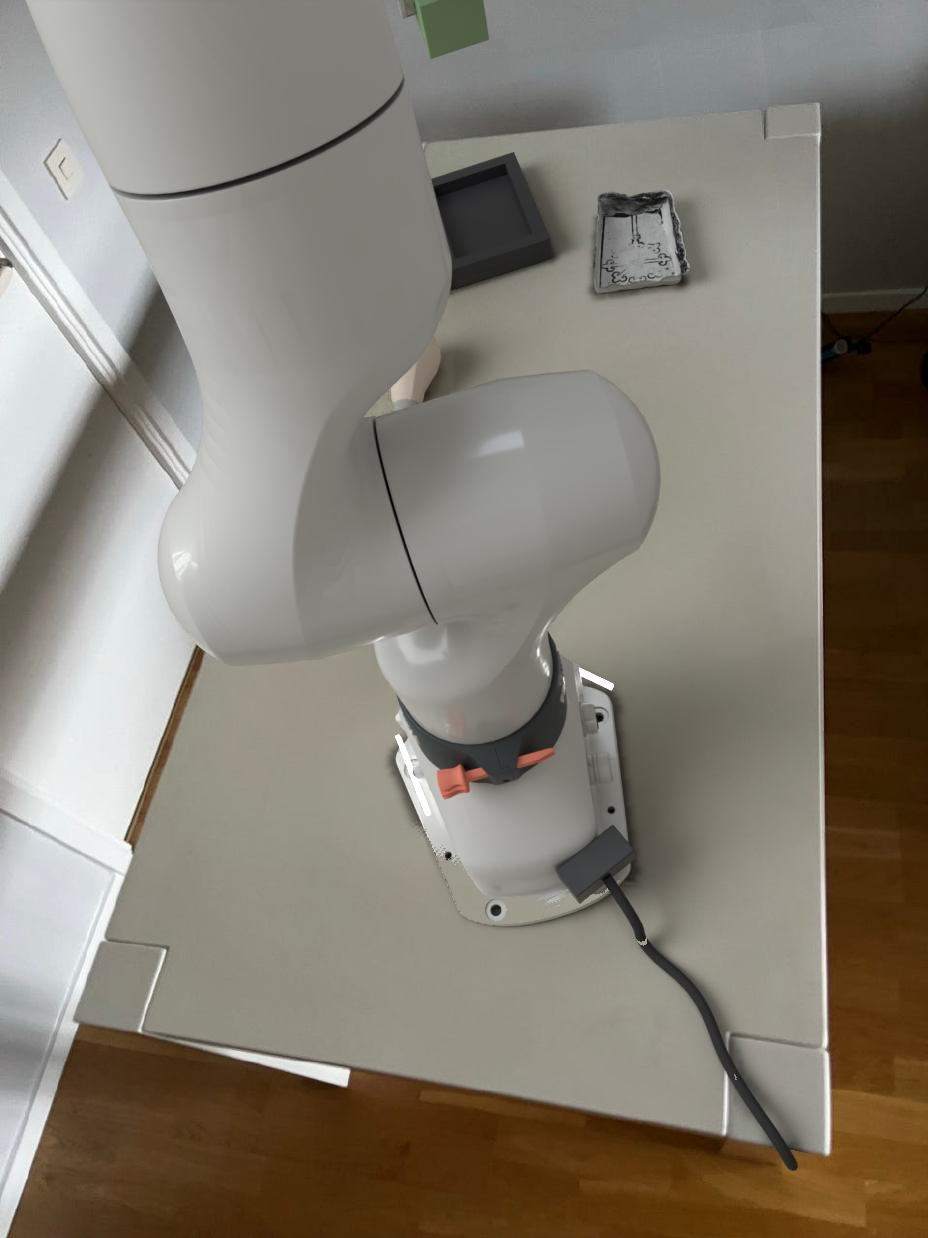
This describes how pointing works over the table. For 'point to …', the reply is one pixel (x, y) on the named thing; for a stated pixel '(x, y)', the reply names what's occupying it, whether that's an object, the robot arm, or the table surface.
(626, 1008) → the table surface
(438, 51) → the green block
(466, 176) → the black square tray
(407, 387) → the light bulb
